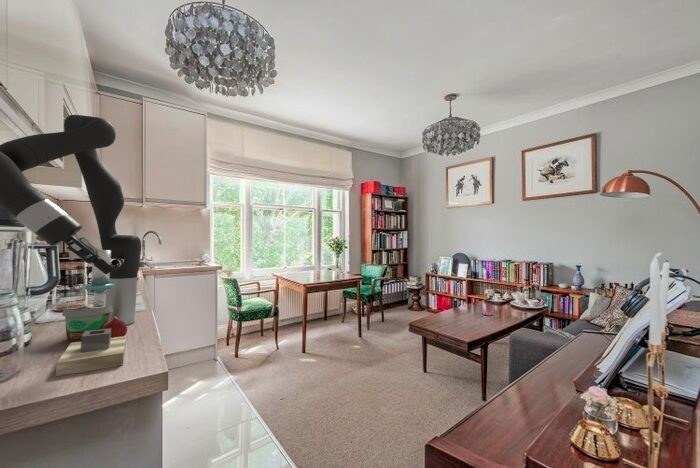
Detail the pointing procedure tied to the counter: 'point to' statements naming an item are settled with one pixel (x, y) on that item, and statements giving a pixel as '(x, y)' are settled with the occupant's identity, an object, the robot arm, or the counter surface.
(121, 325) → the onion
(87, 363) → the wooden base with socket
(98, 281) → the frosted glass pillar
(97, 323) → the food container
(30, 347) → the counter surface
